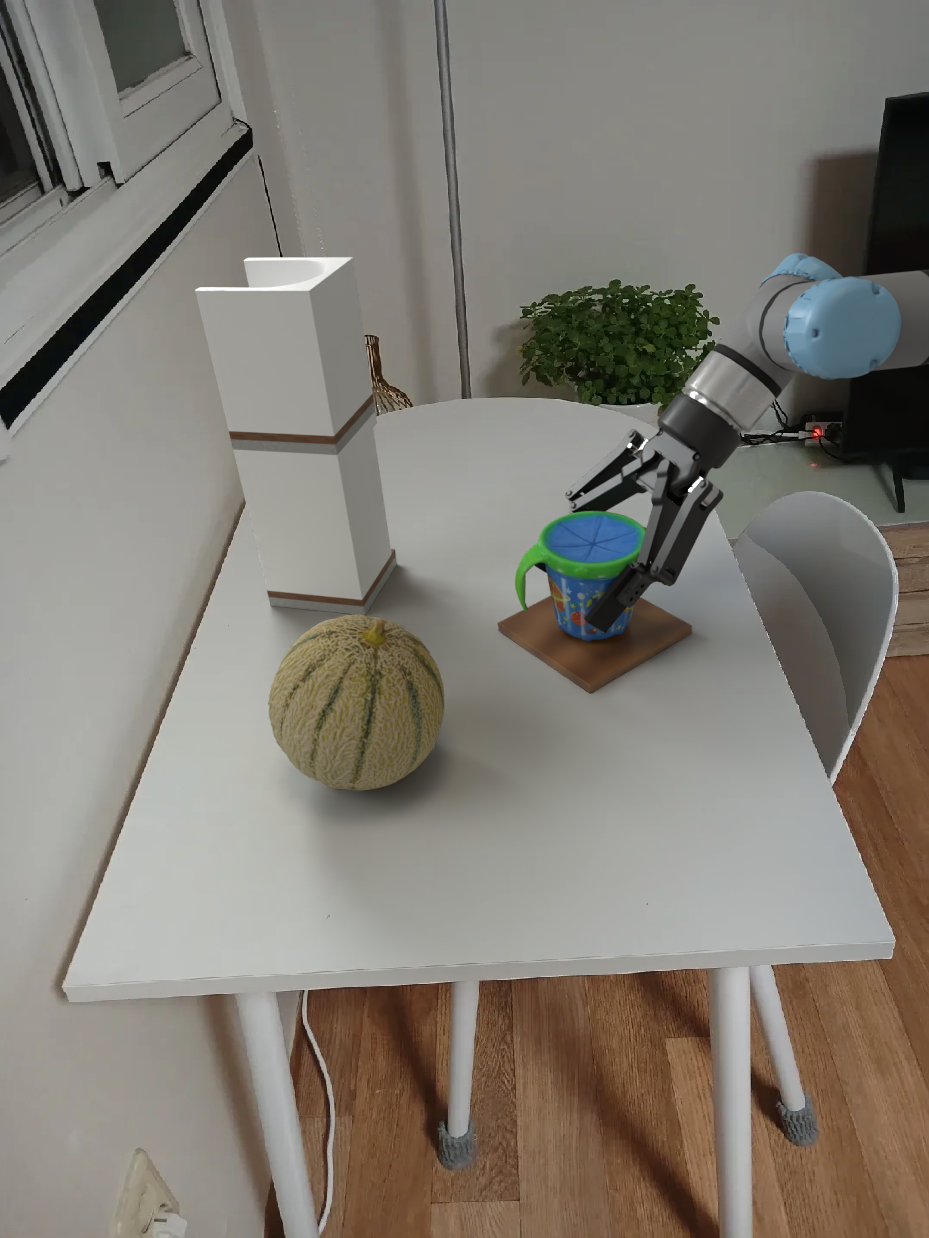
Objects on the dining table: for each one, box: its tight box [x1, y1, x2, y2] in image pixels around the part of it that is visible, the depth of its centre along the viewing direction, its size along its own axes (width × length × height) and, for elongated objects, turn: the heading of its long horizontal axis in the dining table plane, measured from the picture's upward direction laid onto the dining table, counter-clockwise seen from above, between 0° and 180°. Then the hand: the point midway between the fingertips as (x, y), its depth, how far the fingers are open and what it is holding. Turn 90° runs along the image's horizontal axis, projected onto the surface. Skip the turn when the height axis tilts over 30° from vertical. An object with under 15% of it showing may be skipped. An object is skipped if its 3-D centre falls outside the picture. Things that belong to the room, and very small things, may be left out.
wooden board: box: [497, 595, 693, 694], centre depth 98 cm, size 14×14×1 cm
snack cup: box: [514, 511, 668, 641], centre depth 94 cm, size 16×10×10 cm
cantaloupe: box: [267, 614, 446, 791], centre depth 80 cm, size 15×15×15 cm
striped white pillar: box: [194, 256, 398, 616], centre depth 100 cm, size 11×11×35 cm
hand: (567, 596), depth 94 cm, fingers closed on snack cup, 10 cm apart
